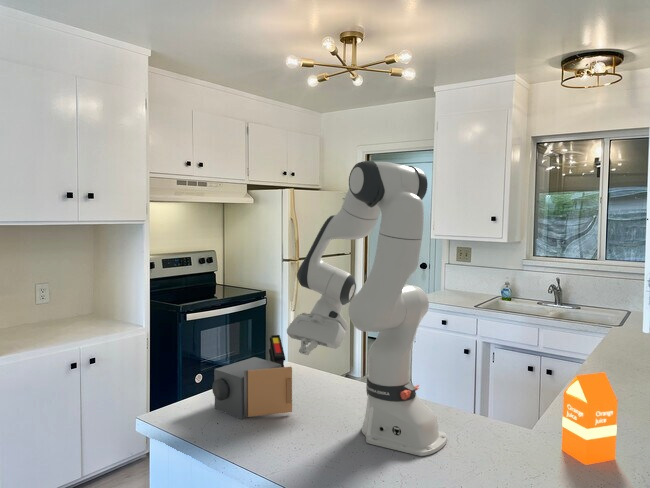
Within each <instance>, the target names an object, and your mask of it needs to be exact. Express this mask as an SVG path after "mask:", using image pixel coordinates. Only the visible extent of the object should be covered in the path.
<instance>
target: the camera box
mask: <svg viewBox="0 0 650 488" xmlns="http://www.w3.org/2000/svg"><path fill="white" fill-rule="evenodd" d="M269 368H281V364H278V363H275V362H271V361H270V360H267V359H263V358H260V357H256V356H253V357H250V358H246V359H244V360H240V361H237V362H234V363H230V364H226V365H224V366H221V367H217V368H213V370H214V373H213V375H214V377H213V379H214V380H213V383H212V387H211V389H212V394H213V396H214V409H215V410H217V409H218V410H217V411H219V410H220V411H219V412H222V411H223V412H222V413H224V412H226V413H225V414H227V413H228V414H227V415H229V414H230V416H232V415H233V417H234V416H235V418H237V417H238V418H237V419H239V418H240V420H243V418H244V419H247V418H248V416H244V370H257V369H269Z"/></svg>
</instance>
